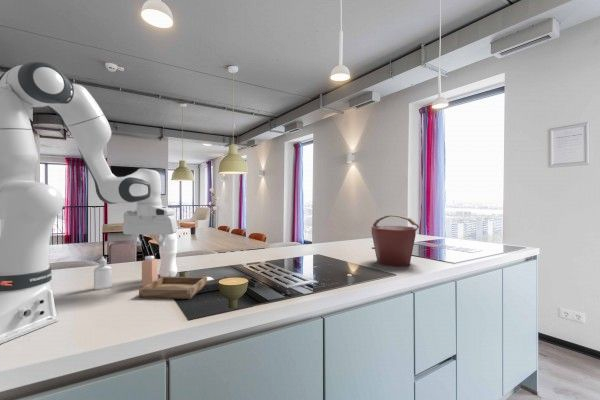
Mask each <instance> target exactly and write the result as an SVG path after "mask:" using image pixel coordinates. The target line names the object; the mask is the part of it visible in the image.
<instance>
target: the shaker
mask: <svg viewBox="0 0 600 400" xmlns="http://www.w3.org/2000/svg"><path fill="white" fill-rule="evenodd" d="M157 279H158V259H157V258H155V255H145V256H144V260H142V261H141V288H142V287H144V286H146V285H148V284H150V283H152V282H153V281H155V280H157Z"/></svg>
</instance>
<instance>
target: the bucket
mask: <svg viewBox="0 0 600 400" xmlns="http://www.w3.org/2000/svg"><path fill="white" fill-rule="evenodd" d="M391 217H396V218H400V219H403V220H407V222H409V224H411V226H405V225H378V224H379V222H380V221H382V220H384V219H386V218H391ZM414 226H415V227H414ZM419 228H420V226H419V224H418V223H416V222H415V221H414V220H413V218H410V217H406V216H403V215H398V214H397V215H394V214H393V215H392V214H391V215H385V216H383V217H380V218H378V219H376V220H375V221H374V223H372V226H371V237H372V242H373V246H374V252H375V258H376V262H377V263H379V264H380V265H382V266H388V267H395V268H398V267H411V266H410V265H411V262H412V261H411V259H412V255H413V250H414V244H415V240H416V234H417V233H416V231H418V229H419Z"/></svg>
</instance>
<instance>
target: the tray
mask: <svg viewBox="0 0 600 400" xmlns="http://www.w3.org/2000/svg"><path fill="white" fill-rule="evenodd" d="M207 286H208V277H207V276H202V277H201V276H175V277H159V278H157V280H155V281H153V282H152V283H150V284H148V285H146V286H144V287H142V286H141V287H140V288H139V289H138V298H139V299H170V300H171V299H177V300H179V299H180V300H181V299H182V300H186V299H188V300H189V299H191V300H192V298H193V297H194V296H196V295H197V294H198V293H199V292H201V291H202V290H203V289H204V288H206V287H207Z"/></svg>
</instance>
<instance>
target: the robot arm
mask: <svg viewBox="0 0 600 400" xmlns="http://www.w3.org/2000/svg"><path fill="white" fill-rule="evenodd" d="M47 106H48V107H50V108H51V109H53V110H54V111H55V112H57V113H58V114H59V116H61V119H62V121H63V122H64V123H65V125H66V127H67V128H68V130H69V132H70V134H71V135H72V137H73V139H74V141H75V144H76V146H77V149H78V151H79V153H80V156H81V158H82V161H83V162H84V164H85V166H86V168H87V169H88V171H89V174H90V176H91V177H92V179H93V182H94V186H95V194H96V195H97V198H98V199H99V200H101V202H103V203H105V204H109V205H113V204H133V203H136V210H127V211H125V212H124V214H123V223H122V233H123V234H124V235H131V236H132V239H133V241H134V242H135V246H136V247H141V246H142V245H143V244H142V240H140V239H139V236H140V235H161V234H162V237H163V239H162V241H160V242H159V241H158V242H159V243H158V247H159V246H165V241H166V239H167V237H168V234H177V231H178V224H177V219H176V216H175V215H174V214H175V213H176V212H175V209H174V208H171V207H168V206H165V205H163V204H162V203H163V202H162V197H161V195H162V191H163V190H162V180H161V179H162V178H161V175H160V173H159V172H158V171H157V170H155V169H153V168H145V167H144V168H143V167H142V168H138V169H137V170H136V171H134V172H132V173H131V174H127V175H125V176H116V175H115V174H114V173H112V170H111V168H110V166H109V164H108V162H107V159H106V158H105V155H104V148H105V147H106V145H107V144H108V143H109V141H110V139H111V137H112V128H111V125H110V122H109V121H108V119H107V117H106V116H105V114H104V112H103V110H102V108H101V107H100V105H99V104H98V102H97V101H96V100H95V98H94V97H93V96H92V94H91V93H90V91H89V90H88V89H87V88H86V87H84V86H83V85H81V84H79V83H78V84H77V83H73V82H72V81H71V80H69V78H67V76H66V75H64V73H63V72H62V71H60V70H59V69H58V68H57V67H56V66H54V65H52V64H50V63H47V62H44V61H29V62H27V63H24V64H21V65H20V64H19V65H17V66H14V67H12V68H10V69H9V70H7V71H6V72H4V73H2V74H1V75H0V220H3V225H2V230H1V233H0V345H1V344H4V343H6V342H8V341H11V340H13V339H17V338H19V337H21V336H23V335H26V334H29V333H31V332H34V331H36V330H39V329H41V328H44V327H46V326H49V325H51V324H54V323H57V322H58V321H59V316H58V312H57V310H56V306H55V300H54V292H53V290H52V289H53V288H52V286H51V281H52V280H53V279H52V278H53V277H52V275H53V273H52V267H50V241H51V236H52V232H53V228H54V224H55V221H56V218H57V216H58V215H59V214H60V213H61V211H62V210H63V207H64V205H65V203H64V197H63V195H62V193H61V191H59V190H58V189H57V188H56V187H54V186H52V185H49V184H47V183H43V182H40V181H36V180H35V179H36V166H37V164H38V163H39V162H38V161H39V154H38V148H37V145H36V144H37V143H36V140H35V136H34V131H33V126H32V125H31V123H32V122H31V120H30V113H31V110H32V109H35V108H36V109H37V108H42V107H43V108H44V107H47Z"/></svg>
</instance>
